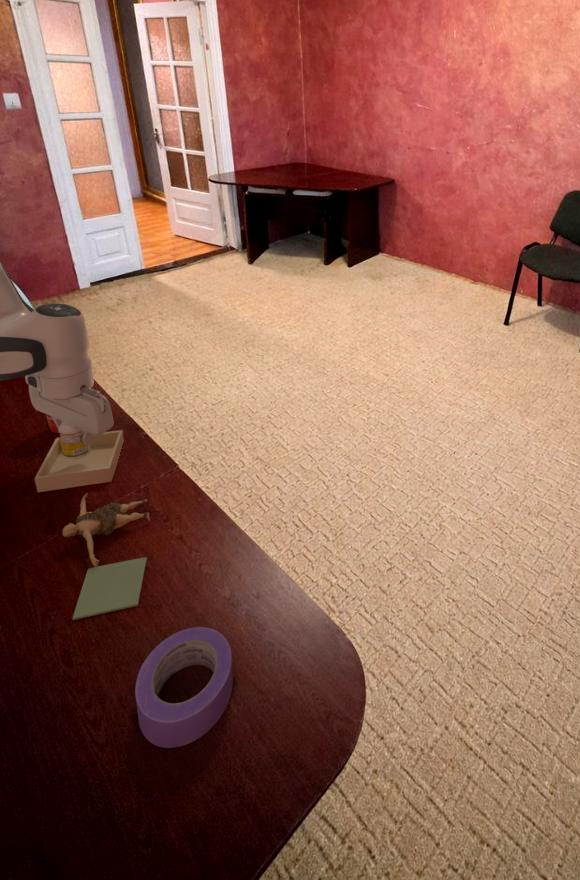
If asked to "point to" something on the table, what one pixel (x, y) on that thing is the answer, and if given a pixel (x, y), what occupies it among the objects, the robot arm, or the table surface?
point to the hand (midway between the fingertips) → (75, 437)
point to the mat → (111, 588)
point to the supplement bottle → (72, 441)
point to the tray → (81, 464)
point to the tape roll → (196, 714)
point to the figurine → (102, 521)
